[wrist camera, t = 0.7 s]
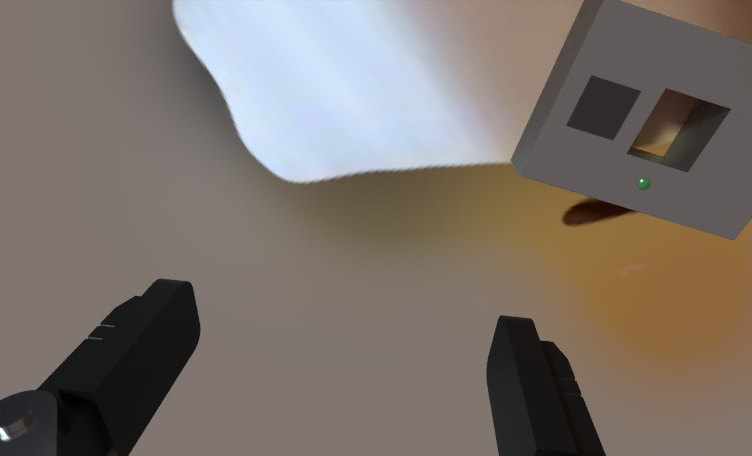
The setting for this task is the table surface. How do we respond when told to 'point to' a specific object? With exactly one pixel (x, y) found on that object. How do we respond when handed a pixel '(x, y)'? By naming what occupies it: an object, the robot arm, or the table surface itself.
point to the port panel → (631, 110)
